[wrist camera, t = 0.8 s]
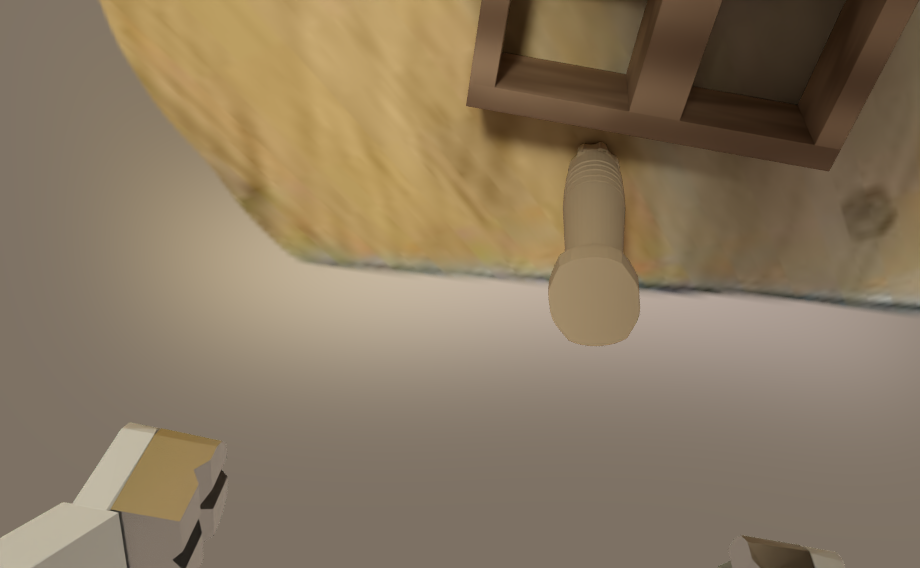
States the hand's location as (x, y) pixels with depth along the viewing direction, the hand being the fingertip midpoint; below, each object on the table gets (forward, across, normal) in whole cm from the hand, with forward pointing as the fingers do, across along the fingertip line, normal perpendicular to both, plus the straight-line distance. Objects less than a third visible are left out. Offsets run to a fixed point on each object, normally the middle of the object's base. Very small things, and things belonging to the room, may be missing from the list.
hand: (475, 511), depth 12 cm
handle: (+42, -7, +12) cm, 44 cm away
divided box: (+40, -9, +1) cm, 41 cm away
